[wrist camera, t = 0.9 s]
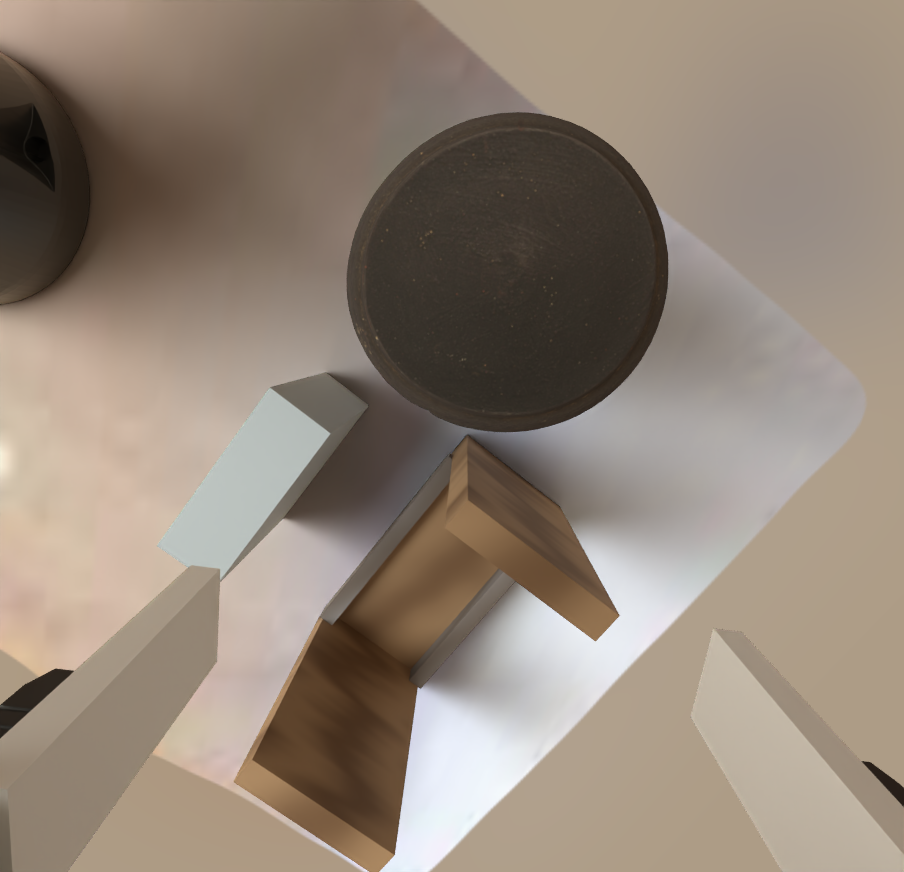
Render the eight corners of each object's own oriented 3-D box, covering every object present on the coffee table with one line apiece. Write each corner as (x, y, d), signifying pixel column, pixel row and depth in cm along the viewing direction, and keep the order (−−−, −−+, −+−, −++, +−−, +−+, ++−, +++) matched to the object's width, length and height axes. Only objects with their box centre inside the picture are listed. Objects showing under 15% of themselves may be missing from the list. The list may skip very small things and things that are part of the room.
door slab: (234, 483, 36) (147, 539, 26) (319, 367, 34) (260, 380, 24) (283, 518, 36) (215, 586, 26) (369, 405, 34) (330, 433, 25)
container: (539, 391, 34) (640, 468, 14) (403, 366, 34) (315, 408, 14) (569, 254, 32) (729, 127, 13) (426, 226, 32) (363, 57, 13)
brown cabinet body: (316, 615, 37) (228, 778, 24) (463, 432, 35) (462, 495, 21) (410, 682, 38) (379, 878, 24) (562, 508, 35) (624, 619, 22)
